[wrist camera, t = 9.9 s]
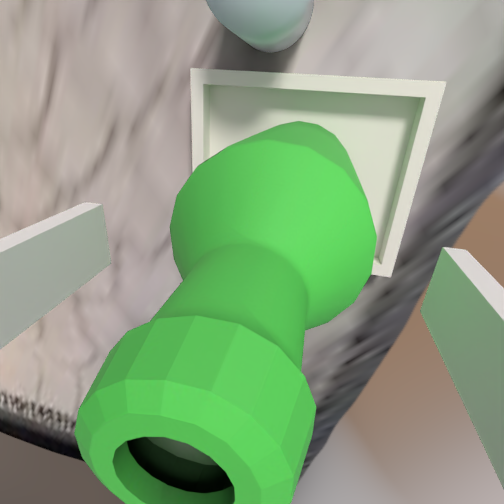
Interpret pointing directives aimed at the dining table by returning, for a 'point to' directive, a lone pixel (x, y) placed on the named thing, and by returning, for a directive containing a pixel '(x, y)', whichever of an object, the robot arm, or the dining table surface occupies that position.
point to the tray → (334, 120)
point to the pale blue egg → (264, 21)
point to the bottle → (234, 327)
